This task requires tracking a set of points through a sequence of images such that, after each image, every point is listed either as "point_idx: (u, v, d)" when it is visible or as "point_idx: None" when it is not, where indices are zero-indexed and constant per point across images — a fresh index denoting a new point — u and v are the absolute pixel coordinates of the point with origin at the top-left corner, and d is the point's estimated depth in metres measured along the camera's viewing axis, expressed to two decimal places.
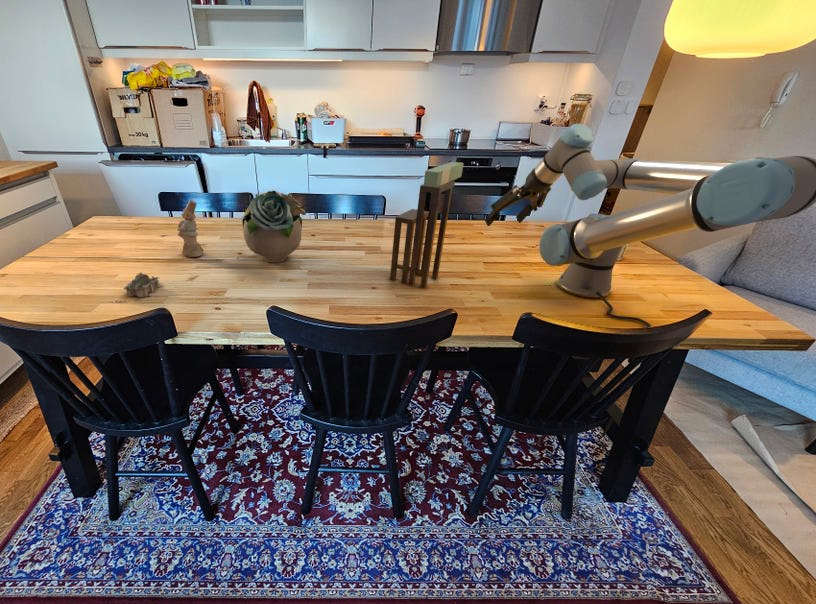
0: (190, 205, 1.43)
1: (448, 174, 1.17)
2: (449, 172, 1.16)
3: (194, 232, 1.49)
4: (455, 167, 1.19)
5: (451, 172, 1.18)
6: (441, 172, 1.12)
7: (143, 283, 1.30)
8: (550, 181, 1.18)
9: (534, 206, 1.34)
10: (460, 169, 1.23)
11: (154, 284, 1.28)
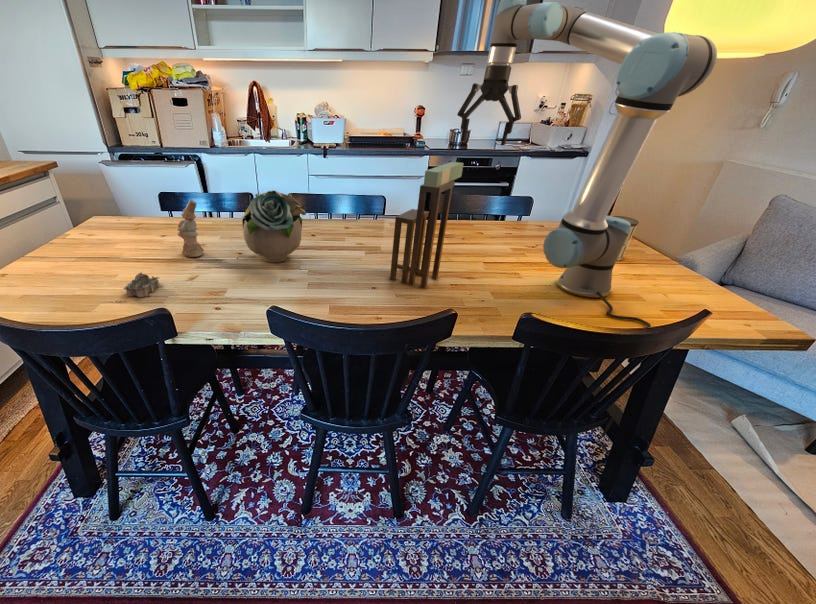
0: (190, 205, 1.43)
1: (448, 174, 1.17)
2: (449, 172, 1.16)
3: (194, 232, 1.49)
4: (455, 167, 1.19)
5: (451, 172, 1.18)
6: (441, 172, 1.12)
7: (143, 283, 1.30)
8: (494, 59, 1.19)
9: (508, 116, 1.26)
10: (460, 169, 1.23)
11: (154, 284, 1.28)
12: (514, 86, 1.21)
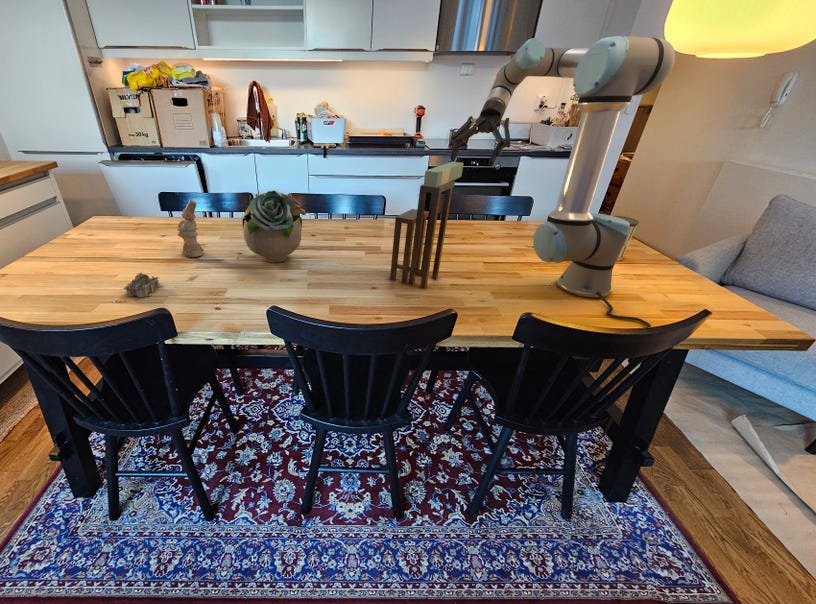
0: (190, 205, 1.43)
1: (448, 174, 1.17)
2: (449, 172, 1.16)
3: (194, 232, 1.49)
4: (455, 167, 1.19)
5: (451, 172, 1.18)
6: (441, 172, 1.12)
7: (143, 283, 1.30)
8: (493, 95, 1.33)
9: (499, 139, 1.31)
10: (460, 169, 1.23)
11: (154, 284, 1.28)
12: (507, 118, 1.31)
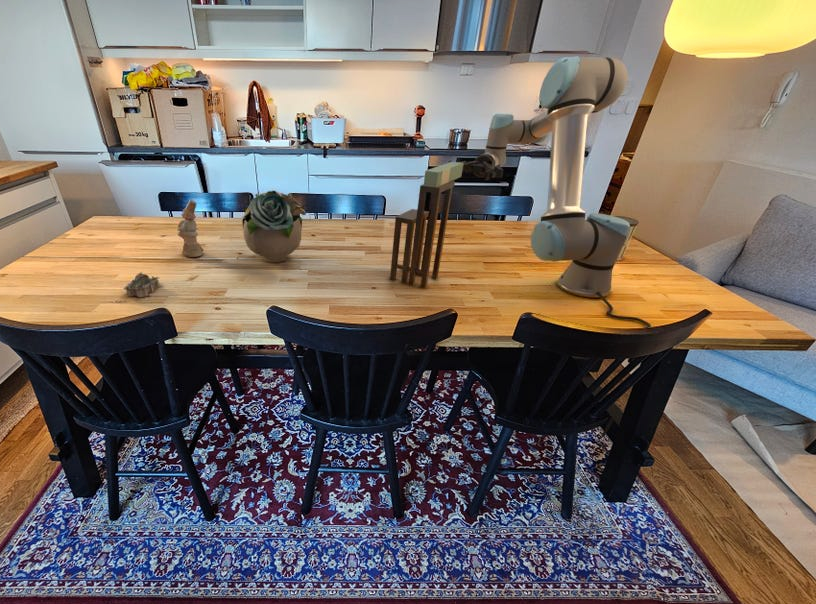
0: (190, 205, 1.43)
1: (448, 174, 1.17)
2: (449, 172, 1.16)
3: (194, 232, 1.49)
4: (455, 167, 1.19)
5: (451, 172, 1.18)
6: (441, 172, 1.12)
7: (143, 283, 1.30)
8: (486, 153, 1.47)
9: (493, 168, 1.35)
10: (460, 169, 1.23)
11: (154, 284, 1.28)
12: (499, 165, 1.40)
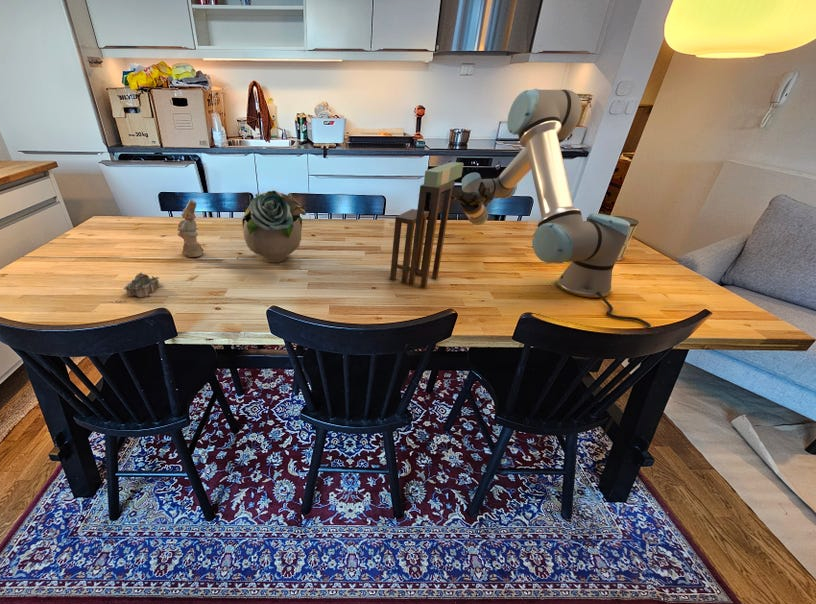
0: (190, 205, 1.43)
1: (448, 174, 1.17)
2: (449, 172, 1.16)
3: (194, 232, 1.49)
4: (455, 167, 1.19)
5: (451, 172, 1.18)
6: (441, 172, 1.12)
7: (143, 283, 1.30)
8: None
9: None
10: (460, 169, 1.23)
11: (154, 284, 1.28)
12: None
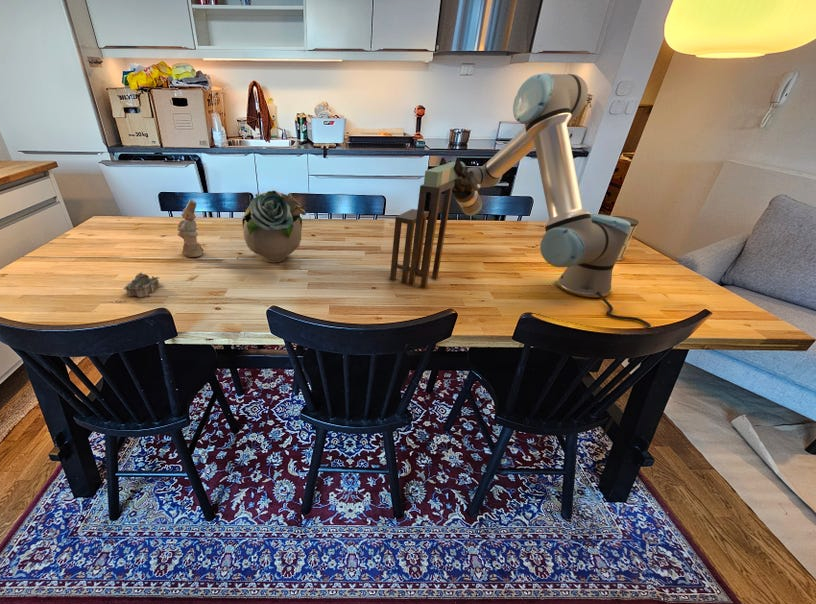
0: (190, 205, 1.43)
1: (448, 174, 1.17)
2: (449, 172, 1.16)
3: (194, 232, 1.49)
4: None
5: (451, 172, 1.18)
6: (441, 172, 1.12)
7: (143, 283, 1.30)
8: None
9: None
10: None
11: (154, 284, 1.28)
12: None
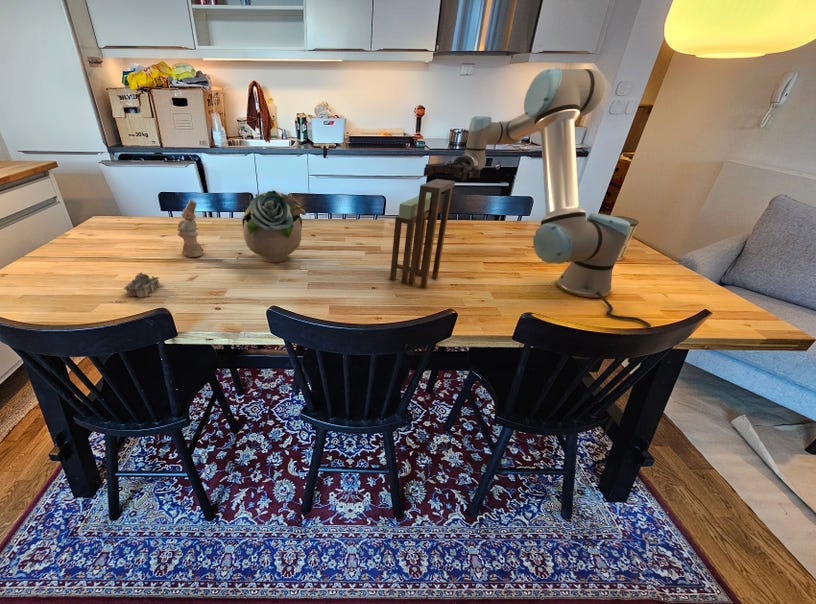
0: (190, 205, 1.43)
1: None
2: None
3: (194, 232, 1.49)
4: (429, 199, 1.28)
5: (425, 204, 1.27)
6: (414, 205, 1.21)
7: (143, 283, 1.30)
8: (465, 154, 1.49)
9: (470, 168, 1.37)
10: None
11: (154, 284, 1.28)
12: (477, 165, 1.43)
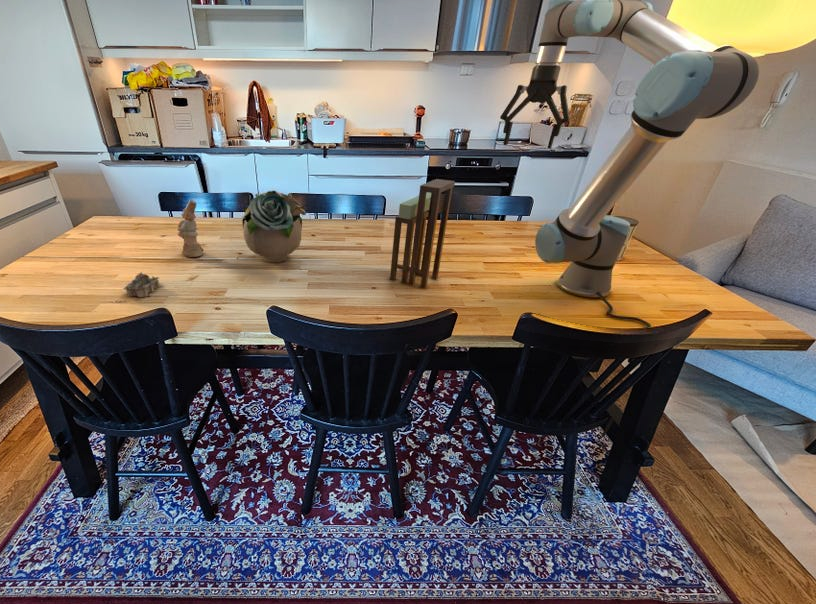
0: (190, 205, 1.43)
1: None
2: None
3: (194, 232, 1.49)
4: (429, 199, 1.28)
5: (425, 204, 1.27)
6: (414, 205, 1.21)
7: (143, 283, 1.30)
8: (543, 59, 1.13)
9: (556, 118, 1.20)
10: None
11: (154, 284, 1.28)
12: (564, 86, 1.15)
